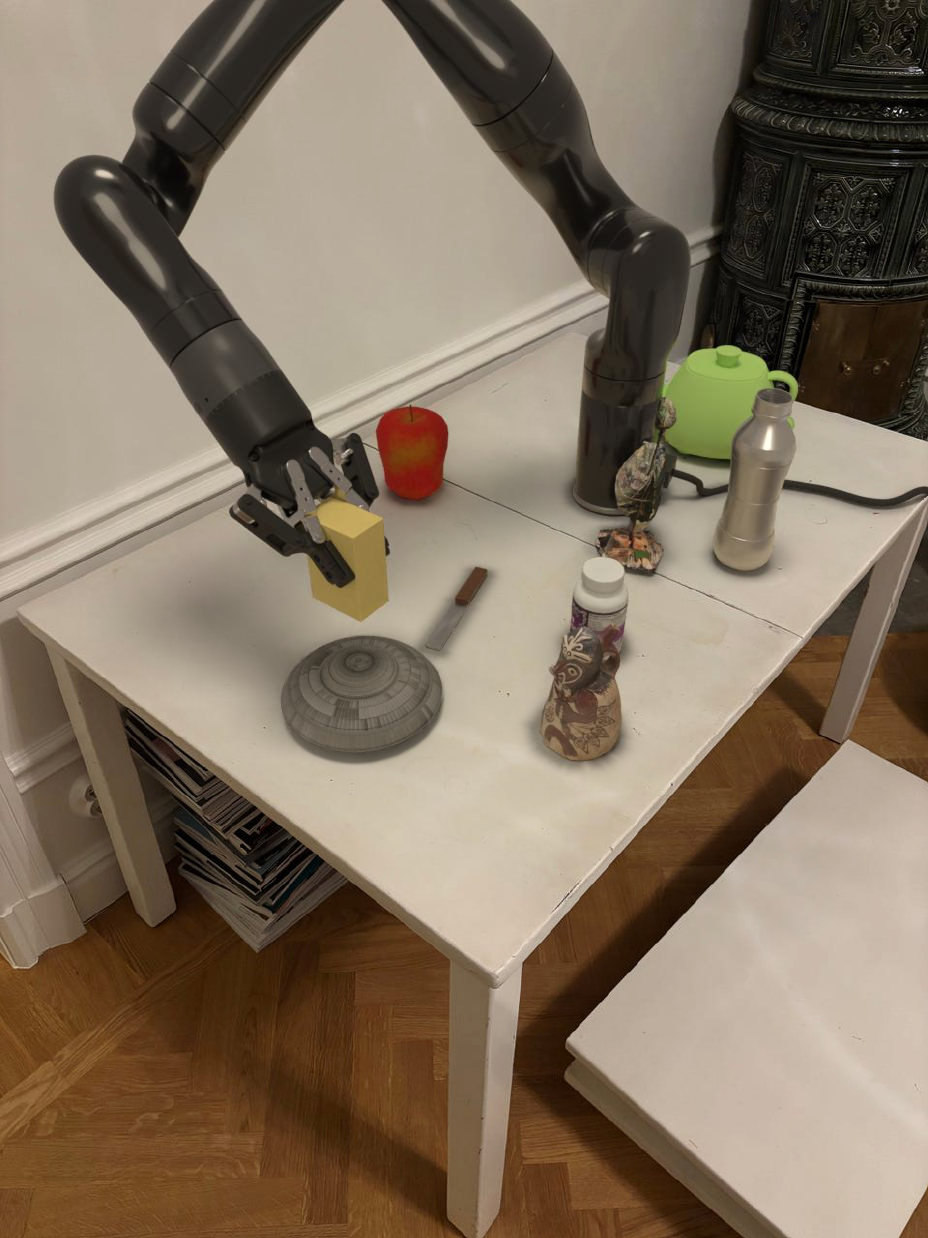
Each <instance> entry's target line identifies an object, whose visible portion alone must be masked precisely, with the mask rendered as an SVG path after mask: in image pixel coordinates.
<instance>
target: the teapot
mask: <svg viewBox="0 0 928 1238" xmlns="http://www.w3.org/2000/svg"><path fill="white" fill-rule="evenodd" d="M773 381H781V382H783V383H786V384H787V385H788V386H789V391H788V393H790V394H791V395H792V396H793V403H792V405H794V402H795V401H796V398H797V396H798V393H799V384H798V381H797V380H796V377H794V376H793V375H792V374H790V373H789V372H786V371H785V370H771V371H770V370H769V368H768V366H767V363H766V361H765V360H764V359H763V358H762V357H760V356H758V355H756V354H753V353H750V352H746V351H742V349H741V348H739V347H738V346H734V345H730V344H729V345H727V344H725V345H719V346H717V347H716V348H702V349H698V350H695V351H694V352H691V354H689V355H688V356H687V357H686V359H685V360H684V361H683V363H682V364H681V365H680V366H679V368H678V369H677V371H676V372H675V373H674V375H673V376H672V378H671V380H670V381H669V383H668V384H665V383H664V388H663V395H662V398H663V397H666V396H667V397H669V399H671V400H672V402H673V404H674V406H675V409H676V414H677V419H676V422H675V424H674V425H673V426H672V427H671V428H670V429H667V430H666V434H665V441H667V440H669V442H667V443H668V444H669V445H670V446H672V447H673V448H675V449H676V450H677V451H678V452H679V453H680V454H683V455H694V456H697V457H703V458H708V459H719V460H720V459H722V460H729V461H731V441H732V437H733V435H734V433H735V431H736V429H737V428H738V427H739V426H740V425H741V424H742V423H743V422H744V421H745V420H746V419H747V418H749V417H750V416H751V415H753V413H752V412H751V408H752V404H753V403H754V399H755V395H756V392H757V391H758V390H761V389H764V388H775V386H774V382H773ZM787 421H788V423H789V425H790V427H791V428H792V431H793V430H794V428H795V424H796V423H795V420H794V418H793V417H792V416H790V418H789V419H787Z"/></svg>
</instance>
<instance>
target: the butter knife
mask: <svg viewBox="0 0 928 1238" xmlns="http://www.w3.org/2000/svg"><path fill="white" fill-rule="evenodd" d="M487 576H488V569H487V568H485V567H480V566H474V568H473V570H472V572H471V573H470V574H469V576H468V577H467V579H466V580H465V582H464V583H463V584H462V586H461V588H460V589H459V591H458V592H457V594H456V596H455V599H454V601H453V603H452V604H451V605H450V607H449V609H448V610H447V611H446V613H445V615H444V616H443V617H442V619H441V621H440V623H439V624H438V625H437V627H436V628H435V630H434V631H433V633H432V634H431V636H430V638H429V639H428V640H427V642H426V643H425V648H428V649H431V650H436V651H441V650H442V649H443V647H444V646H445V644H446V642H447V641H448V639H449V637H450V636H451V635H452V634H453V632H454V630H455V628H456V627H457V625H458V624H459V622H460V621H461V619H462V617H463V616H464V614H465V612H466V611H467V609H468V608H469V606H470V604H471V601H472V600H473V598H474V597H475V596H476V593H477V592H478V590H479V589H480V587H481V585H482V584H483V583H484V581H485V579H486V578H487Z"/></svg>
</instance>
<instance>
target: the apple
mask: <svg viewBox="0 0 928 1238" xmlns="http://www.w3.org/2000/svg"><path fill="white" fill-rule="evenodd" d="M449 434H450V433H449V427H448V424H447V422H446V421H445V419H444V418H443V417H442V415H440V414H439V413H438V412H436V411H433V410H431V409H429V408H424V407H420V406H416V405H415V406H413V405H412V404H409V406H402V407H397V408H393V409H391V410H389V411H387V412H384V414H383V415H382V416H381V417H380V419H379V422H378V424H377V426H376V429H375V437H376V443H377V444H376V445H377V450H378V454H379V457H380V461H381V465H382V468H383V469H382V470H383V476H384V482H385V485H386V487H387V488H388V489H390V490H391V491H392V492H394V493H395V494H397V495H398V496H400V497H401V498H405V499H408V500H413V501H415V500H423V499H426V498H428V497H430V496H432V495H433V494H435V493H436V492H437V491H438V490H440V489H441V487H442V485H443V483H444V468H445V467H444V465H445V459H446V455H447V450H448V445H449Z"/></svg>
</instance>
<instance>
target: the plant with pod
mask: <svg viewBox="0 0 928 1238" xmlns="http://www.w3.org/2000/svg"><path fill="white" fill-rule="evenodd" d="M676 419H677V414H676V409H675V406H674V404H673V402H672V400H671V399H669V397H667V396H666V397H663V398H661V399H660V400H659V402H658V406H657V414H656V420H655V428H656V429H657V430H659V433H658V437H659V438H658V442H655V443H646V444H645V445H643V446H642V447H641V448H639V449H638V450H636V451H635V452H634V454H633V455H632V456H631V457H630V458H629V459H628V460H627V461H626V462H625V463H624V464H623V466H622V467H621V468H620V470H619V472H618V474H617V475H616V482H615V495H616V501H617V506H618V508H619V509H620V511H621V512H622V514H621V515H623V516H625V517H627V518H629V519H630V520H629V524H628V530H626V529H625V528H623V527H620V528H615V529H612V528H610V529H609V528H607V529H605V528H603V529H599V534H597V538H596V539H595V546H597V548H598V549H599V550H598V551H597V552H598V553H599V554H600V555H601V556H600V557H607V558H611V559H614V560H616V561H618V562H619V563H621V564H622V566H623V567H624V568H625V567H627V568H632V570H638V571H639V570H640V571H642V572H643V573H647V574H649V573H653V572H655V571H656V570H657V567H658V564H659V562H660V560H661V558H662V555H664V551H665V548H664V545H663V543H661V542H659V541H658V539H657V536H655V533H653V532H652V531H651V530H645V528H646V527H647V526H648V525H649V524H650V523H651V522H652V521H653V520H654V519H655V517H656V515H657V512H658V510H659V508H660V506H661V503H662V498H663V497H662V496H663V488H662V487H663V483H664V477H665V471H666V462H667V458H666V454H667V452H666V446H665V445H664V444H662V443H661V440H662V442H667V443H668V442H669V440H666V439H665V434H666V430H667V429H670V428H671V427H672V426H673V425H674V424H675V422H676Z"/></svg>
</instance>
